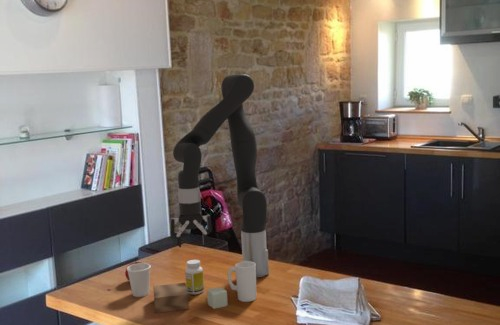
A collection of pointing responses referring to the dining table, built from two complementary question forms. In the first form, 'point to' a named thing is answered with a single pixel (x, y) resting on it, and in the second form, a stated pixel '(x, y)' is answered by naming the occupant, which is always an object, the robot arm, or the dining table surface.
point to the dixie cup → (139, 279)
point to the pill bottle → (194, 277)
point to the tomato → (127, 271)
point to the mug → (244, 280)
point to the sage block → (217, 297)
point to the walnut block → (171, 297)
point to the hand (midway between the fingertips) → (192, 245)
